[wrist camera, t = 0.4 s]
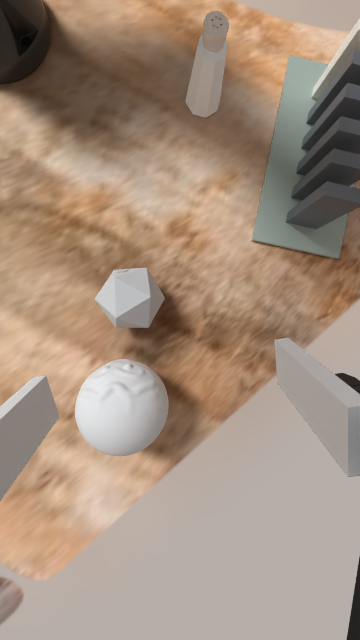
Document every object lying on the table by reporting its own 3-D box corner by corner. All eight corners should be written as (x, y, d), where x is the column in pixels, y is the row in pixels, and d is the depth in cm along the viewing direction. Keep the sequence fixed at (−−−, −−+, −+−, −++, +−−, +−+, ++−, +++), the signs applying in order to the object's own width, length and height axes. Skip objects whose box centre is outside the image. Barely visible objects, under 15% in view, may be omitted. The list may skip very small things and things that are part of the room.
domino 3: (331, 155, 41) (385, 107, 31) (301, 148, 41) (345, 96, 31) (334, 145, 41) (388, 93, 31) (303, 137, 41) (347, 82, 31)
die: (173, 291, 42) (151, 248, 34) (164, 341, 38) (136, 305, 30) (126, 293, 44) (95, 253, 36) (113, 340, 40) (75, 307, 32)
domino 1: (342, 105, 41) (399, 40, 31) (311, 97, 41) (358, 29, 31) (344, 95, 41) (402, 26, 31) (313, 87, 41) (361, 15, 31)
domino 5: (321, 204, 41) (371, 171, 31) (290, 197, 41) (331, 162, 31) (323, 194, 41) (374, 158, 31) (292, 187, 41) (334, 148, 31)
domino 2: (337, 130, 41) (392, 73, 31) (306, 123, 41) (351, 63, 31) (339, 120, 41) (395, 59, 31) (308, 112, 41) (354, 49, 31)
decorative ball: (164, 349, 42) (164, 366, 30) (171, 424, 42) (174, 470, 30) (86, 357, 41) (54, 377, 29) (94, 433, 42) (66, 484, 30)
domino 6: (316, 229, 42) (364, 204, 32) (285, 222, 41) (324, 194, 31) (318, 219, 41) (367, 190, 31) (287, 212, 41) (327, 181, 31)
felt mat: (336, 258, 42) (339, 258, 42) (251, 240, 42) (253, 239, 41) (374, 81, 42) (377, 77, 41) (288, 58, 41) (290, 54, 40)
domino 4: (326, 180, 41) (378, 139, 31) (295, 173, 41) (337, 129, 31) (329, 170, 41) (381, 126, 31) (298, 163, 41) (340, 116, 31)
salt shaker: (181, 84, 40) (188, -1, 29) (217, 79, 40) (236, -7, 29) (188, 121, 40) (197, 51, 29) (223, 116, 41) (244, 44, 30)
